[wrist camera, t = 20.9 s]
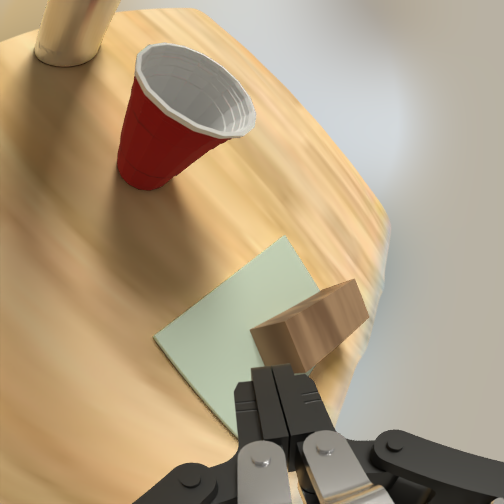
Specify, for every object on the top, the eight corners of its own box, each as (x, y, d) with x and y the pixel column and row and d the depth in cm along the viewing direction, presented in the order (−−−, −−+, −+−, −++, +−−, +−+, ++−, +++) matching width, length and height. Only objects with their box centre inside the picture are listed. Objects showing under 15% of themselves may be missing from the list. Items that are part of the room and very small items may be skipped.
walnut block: (305, 372, 24) (369, 317, 33) (284, 321, 24) (354, 278, 33) (268, 374, 27) (336, 325, 36) (249, 329, 28) (322, 289, 37)
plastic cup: (210, 187, 32) (282, 120, 23) (133, 233, 25) (194, 152, 16) (156, 116, 31) (210, 38, 22) (75, 145, 23) (110, 43, 15)
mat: (247, 448, 24) (251, 449, 23) (152, 336, 23) (154, 336, 22) (337, 326, 37) (341, 326, 37) (281, 236, 36) (284, 234, 36)
